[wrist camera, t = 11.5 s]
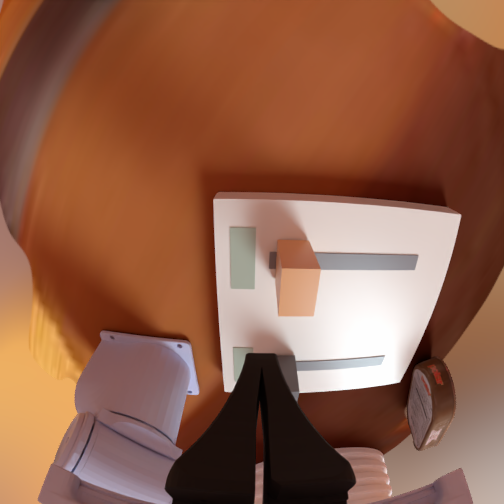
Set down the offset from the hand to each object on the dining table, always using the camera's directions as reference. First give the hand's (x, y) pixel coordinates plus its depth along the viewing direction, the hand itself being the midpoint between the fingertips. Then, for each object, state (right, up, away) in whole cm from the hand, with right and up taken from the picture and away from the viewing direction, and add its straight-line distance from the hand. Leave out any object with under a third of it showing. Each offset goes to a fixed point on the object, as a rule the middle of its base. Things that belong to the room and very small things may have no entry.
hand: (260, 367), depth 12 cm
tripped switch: (+2, +5, +6) cm, 8 cm away
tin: (+20, -11, +15) cm, 27 cm away
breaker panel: (+6, +1, +10) cm, 12 cm away
